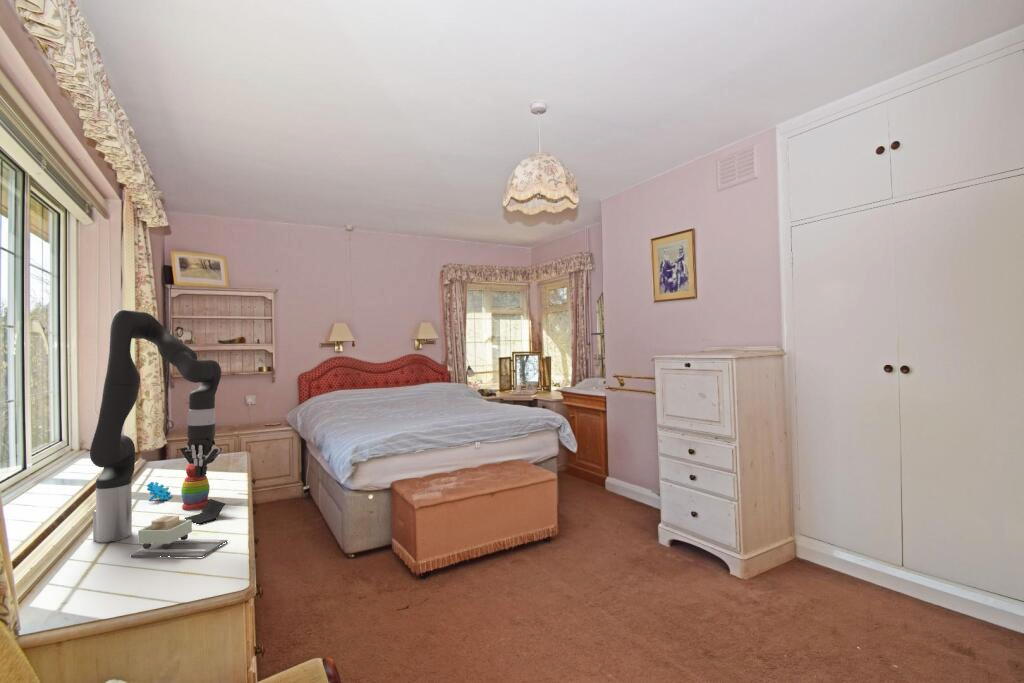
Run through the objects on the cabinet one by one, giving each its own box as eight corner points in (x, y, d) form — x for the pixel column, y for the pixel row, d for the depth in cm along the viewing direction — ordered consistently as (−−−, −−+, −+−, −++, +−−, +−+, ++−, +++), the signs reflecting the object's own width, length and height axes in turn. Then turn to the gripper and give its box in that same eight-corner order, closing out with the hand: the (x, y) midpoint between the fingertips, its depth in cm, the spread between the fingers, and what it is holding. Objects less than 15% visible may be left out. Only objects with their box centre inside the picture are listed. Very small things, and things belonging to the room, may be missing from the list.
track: (130, 557, 148) (130, 552, 148) (161, 541, 160) (161, 537, 160) (201, 558, 146) (201, 553, 146) (227, 542, 158) (227, 537, 158)
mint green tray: (138, 550, 149) (138, 530, 149) (163, 537, 158) (163, 519, 158) (169, 550, 148) (168, 531, 148) (191, 538, 158) (191, 519, 158)
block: (151, 537, 151) (151, 521, 151) (164, 531, 156) (164, 515, 156) (167, 538, 151) (167, 521, 151) (179, 531, 156) (179, 515, 156)
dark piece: (178, 517, 178) (197, 491, 183) (193, 524, 183) (211, 498, 189) (199, 526, 173) (217, 499, 178) (213, 533, 179) (231, 506, 184)
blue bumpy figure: (160, 500, 199) (144, 482, 200) (148, 511, 198) (132, 493, 199) (178, 495, 210) (163, 478, 211) (167, 506, 209) (152, 489, 210)
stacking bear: (217, 505, 197) (216, 460, 197) (189, 512, 188) (189, 465, 188) (203, 500, 203) (203, 457, 203) (175, 507, 194) (175, 462, 194)
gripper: (229, 421, 161) (228, 475, 161) (191, 420, 163) (189, 473, 162) (213, 425, 154) (211, 481, 154) (173, 424, 155) (172, 479, 155)
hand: (200, 477), depth 158 cm, fingers closed
